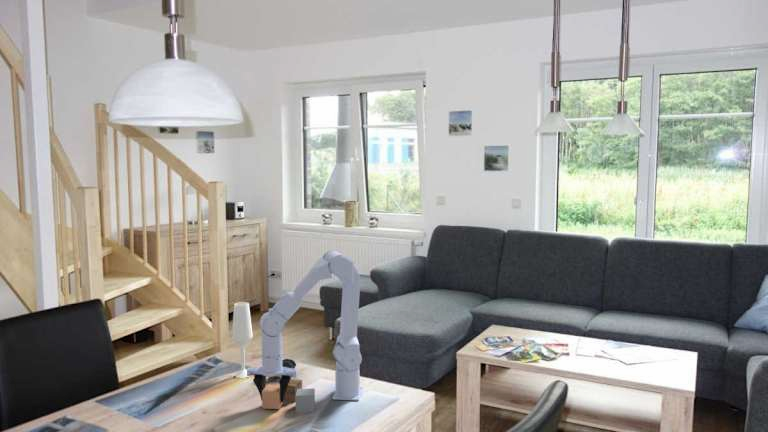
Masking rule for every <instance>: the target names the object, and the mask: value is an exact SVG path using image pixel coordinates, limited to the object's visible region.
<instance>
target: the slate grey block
mask: <svg viewBox="0 0 768 432" xmlns="http://www.w3.org/2000/svg"><path fill="white" fill-rule="evenodd" d="M315 393H316V389H315V388H302V389H297V392H296V396H295V399H296V402H295V413H314V412H315V411H314V410H315V406H316V403H315V402H316V398H315V397H316V396H315V395H316V394H315Z"/></svg>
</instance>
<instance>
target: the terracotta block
mask: <svg viewBox="0 0 768 432" xmlns="http://www.w3.org/2000/svg"><path fill="white" fill-rule="evenodd" d="M284 403H285V401H283V402H281V400H280V384H266V387H265V388H264V389H263V391H262V401H261V405H262V406H261V407H262V409H269V410H270V409H271V410H280V409H281V408H282V407H283V404H284Z"/></svg>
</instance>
